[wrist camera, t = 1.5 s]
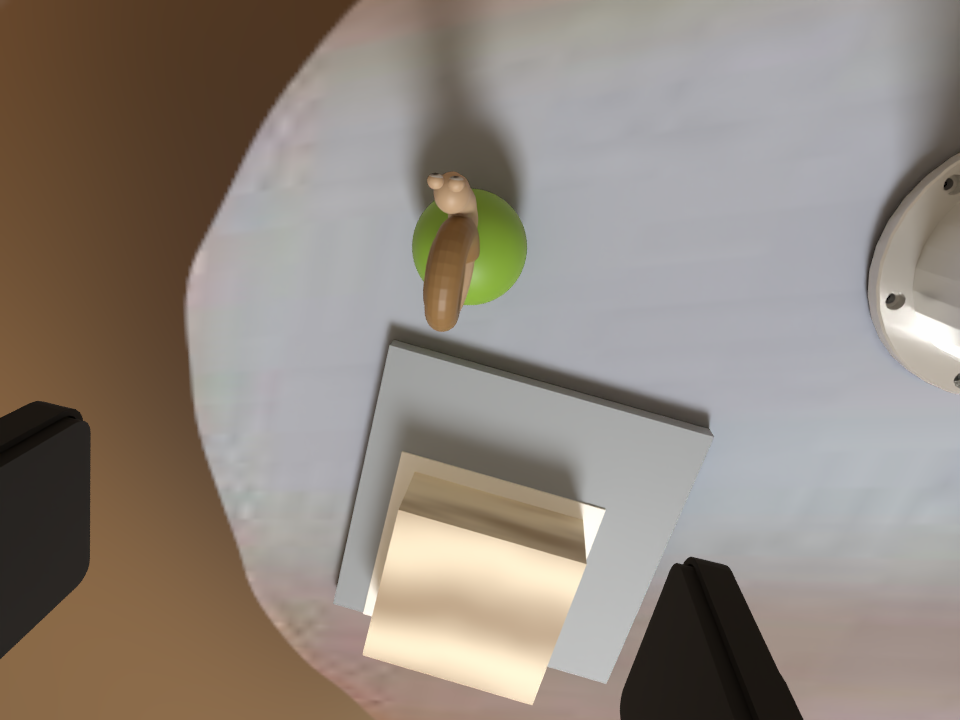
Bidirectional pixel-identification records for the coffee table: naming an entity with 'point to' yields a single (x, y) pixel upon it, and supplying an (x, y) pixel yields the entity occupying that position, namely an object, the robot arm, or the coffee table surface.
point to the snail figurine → (465, 248)
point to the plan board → (529, 481)
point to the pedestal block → (475, 587)
